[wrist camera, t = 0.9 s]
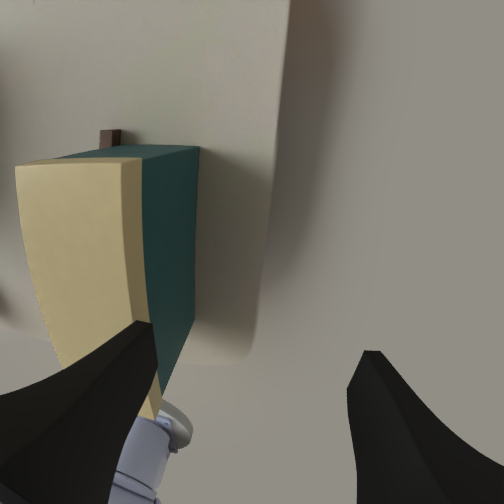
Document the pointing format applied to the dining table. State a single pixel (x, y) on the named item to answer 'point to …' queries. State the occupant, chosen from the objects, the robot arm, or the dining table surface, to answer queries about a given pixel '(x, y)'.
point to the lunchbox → (113, 248)
